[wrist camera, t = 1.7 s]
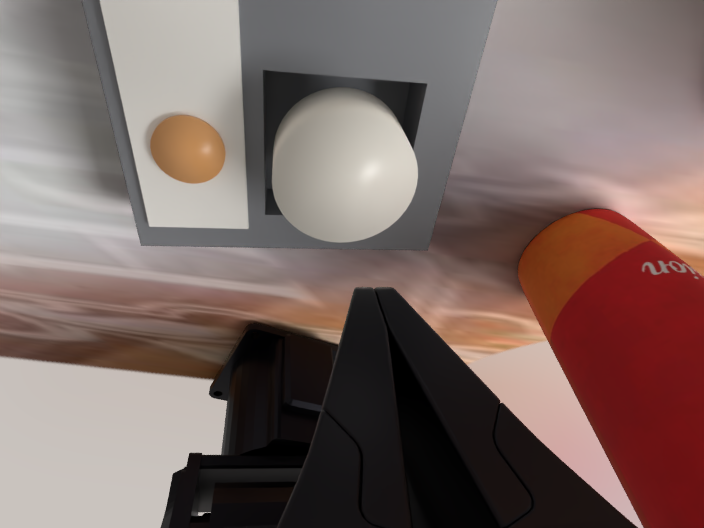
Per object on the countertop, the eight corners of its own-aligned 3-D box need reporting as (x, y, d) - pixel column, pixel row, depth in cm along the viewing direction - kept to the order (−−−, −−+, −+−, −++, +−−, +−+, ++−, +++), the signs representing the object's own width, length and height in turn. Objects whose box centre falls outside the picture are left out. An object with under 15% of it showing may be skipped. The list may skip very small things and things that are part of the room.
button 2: (392, 211, 16) (403, 243, 15) (273, 208, 16) (271, 241, 14) (416, 92, 14) (432, 117, 12) (273, 81, 13) (271, 105, 11)
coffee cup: (656, 274, 24) (990, 610, 13) (514, 331, 26) (695, 671, 14) (653, 153, 19) (1207, 531, 8) (476, 233, 21) (711, 641, 9)
